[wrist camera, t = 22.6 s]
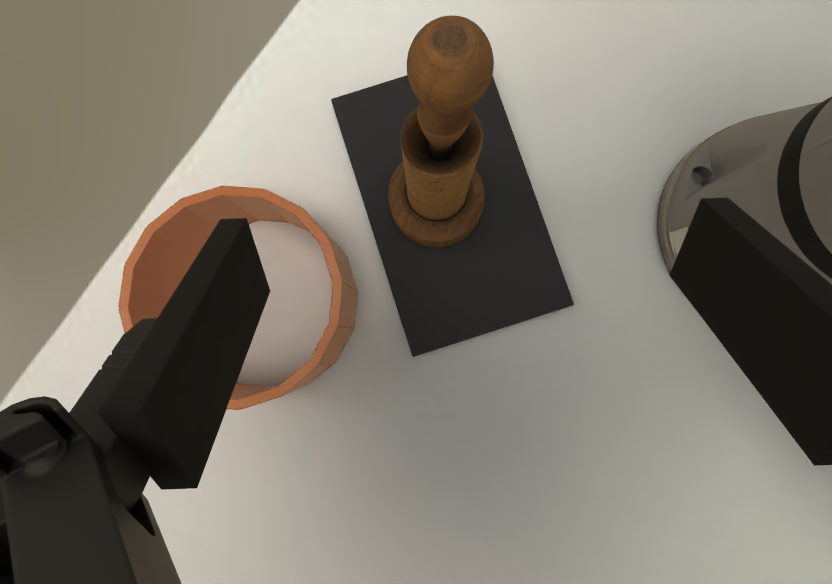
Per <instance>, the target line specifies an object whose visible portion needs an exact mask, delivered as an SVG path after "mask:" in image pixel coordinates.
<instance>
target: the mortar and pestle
mask: <svg viewBox="0 0 832 584" xmlns="http://www.w3.org/2000/svg"><path fill="white" fill-rule="evenodd" d="M493 64H494V61H493V53H492V48H491V45H490V43H489V40H488V38H487V36H486V35H485V33H484V32H483V31H482V29H481V28H480V27H479V26H478V25H477V24H475V23H474V22H472V21H471V20H469V19H467V18H464V17H460V16H444V17H440V18H437V19H435V20H433V21H431V22H429V23H428V24H426V25H425V26H424V27H423V28H422V29H421V30H420V31H419V32H418V34H417V35H416V36H415V38H414V40H413V42H412V44H411V46H410V49H409V53H408V58H407V74H408V79H409V83H410V86H411V88H412V90H413V92H414V94H415V95H416V97H417V98H418V99H419V100H420V102H419V105H418V107H417V108H415V109H414V110H413V111H412V112H411V113H410V115H409V116H408V117H407V119H406V121H405V123H404V125H403V128H402V131H401V138H400V142H401V149H402V155H403V162H402V163H401V164H400V165H399V166H398V167H397V169H396V170H395V172H394V174H393V176H392V178H391V181H390V185H389V192H388V198H389V205H390V210H391V214H392V217H393V219H394V221H395V223H396V225H397V226H398V228H399V229H400V230H401V232H402V233H403V234H404V235H405V236H406V237H407V238H409V239H410V240H412V241H413V242H415V243H417V244H419V245H422V246H425V247H430V248H443V247H448V246H452V245H454V244H456V243H458V242H460V241H462V240H463V239H465V238H466V237H467V236H468V235H469V234H470V233H471V232H472V231H473V229H474V228H475V226H476V225H477V223H478V221H479V218H480V216H481V214H482V211H483V207H484V200H485V193H484V186H483V182H482V179H481V177H480V175H479V173H478V171H477V170H476V168H475V166H476V163H477V160H478V157H479V154H480V151H481V148H482V144H483V130H482V126H481V123H480V121H479V119H478V117H477V116H476V114H475V113H474V112H473V111H472V110H471V107H472V106H474V105H475V104H476V103H477V102H478V101H479V100H480V99H481V98H482V97H483V95H484V94H485V92H486V91H487V89H488V86H489V84H490V81H491V78H492V74H493Z"/></svg>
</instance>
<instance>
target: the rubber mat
mask: <svg viewBox="0 0 832 584" xmlns="http://www.w3.org/2000/svg"><path fill="white" fill-rule="evenodd" d="M331 101H332V104H333V107H334V110H335V113H336V116H337V120H338V123H339V126H340V129H341V132H342V135H343V139H344V142H345V145H346V148H347V151H348V154H349V157H350V161H351V164H352V167H353V170H354V173H355V176H356V179H357V183H358V186H359V189H360V192H361V195H362V198H363V202H364V205H365V208H366V211H367V214H368V217H369V220H370V224H371V227H372V230H373V233H374V236H375V239H376V243H377V246H378V249H379V252H380V255H381V258H382V261H383V265H384V268H385V271H386V274H387V277H388V280H389V283H390V287H391V290H392V293H393V296H394V299H395V302H396V306H397V309H398V312H399V315H400V318H401V321H402V324H403V328H404V331H405V334H406V337H407V340H408V343H409V346H410V350H411V353H412V356H417V355H420V354H423V353H426V352H429V351H432V350H436V349H439V348H442V347H445V346H448V345H451V344H454V343H457V342H460V341H463V340H466V339H470V338H473V337H476V336H479V335H482V334H485V333H488V332H491V331H494V330H497V329H500V328H504V327H507V326H510V325H513V324H516V323H519V322H522V321H525V320H528V319H531V318H534V317H538V316H541V315H544V314H547V313H550V312H553V311H556V310H559V309H562V308H565V307H568V306H572V305H574V303H573V300H572V298H571V295H570V292H569V289H568V286H567V284H566V281H565V278H564V275H563V272H562V270H561V267H560V264H559V261H558V258H557V256H556V253H555V250H554V247H553V244H552V242H551V239H550V236H549V233H548V230H547V228H546V225H545V222H544V219H543V216H542V214H541V211H540V208H539V205H538V202H537V200H536V197H535V194H534V191H533V188H532V186H531V183H530V180H529V177H528V174H527V172H526V169H525V166H524V163H523V160H522V157H521V155H520V152H519V149H518V146H517V143H516V141H515V138H514V135H513V132H512V129H511V127H510V124H509V121H508V118H507V115H506V113H505V110H504V107H503V104H502V101H501V99H500V96H499V93H498V90H497V87H496V85H495V82H494V79H493V76H492V78H491V81H490V84H489V86H488V89H487V91H486V92H485V94H484V95H483V97H482V98H481V99H480V100H479V101H478V102H477V103H476V104H475V105H474V106H472V107H471V110H472V111H473V112H474V113H475V114H476V116H477V117H478V119H479V121H480V123H481V126H482V130H483V144H482V148H481V151H480V154H479V157H478V160H477V163H476V166H475V168H476V170H477V171H478V173H479V175H480V177H481V179H482V182H483V186H484V193H485V200H484V207H483V211H482V214H481V216H480V218H479V221H478V223H477V225H476V226H475V228H474V229H473V231H472V232H471V233H470V234H469V235H468V236H467V237H466V238H465V239H463V240H462V241H460V242H458V243H456V244H454V245H452V246H448V247H443V248H430V247H425V246H422V245H419V244H417V243H415V242H413V241H412V240H410V239H409V238H407V237H406V236H405V235H404V234H403V233H402V232H401V230H400V229H399V228H398V226H397V225H396V223H395V221H394V219H393V217H392V214H391V210H390V205H389V198H388V192H389V185H390V181H391V178H392V176H393V174H394V172H395V170H396V169H397V167H398V166H399V165H400V164H401V163H402V162H403V155H402V149H401V142H400V138H401V131H402V128H403V125H404V123H405V121H406V119H407V117H408V116H409V115H410V113H411V112H412V111H413V110H414V109H415V108H417V107H418V105H419V102H420V100H419V99H418V98H417V97H416V95H415V94H414V92H413V90H412V88H411V86H410V83H409V79H408V75H407V76H404V77H401V78H397V79H394V80H391V81H388V82H385V83H381V84H378V85H375V86H372V87H369V88H365V89H362V90H359V91H356V92H353V93H350V94H346V95H343V96H340V97H337V98H334V99H331Z"/></svg>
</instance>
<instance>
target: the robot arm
mask: <svg viewBox="0 0 832 584" xmlns="http://www.w3.org/2000/svg"><path fill="white" fill-rule="evenodd" d="M658 231H659V239H660V244H661V249H662V252H663V255H664V258H665V261H666V264H667V266H668V268H669V270H670V274H669V275H670V276H671V277H672V279H673V280H674V281H675V283H676V284H677V285H678V287H679V288H680V289H681V291H682V292H683V293H684V295H685V296H686V297H687V299H688V300H689V301H690V302H691V304H692V305H693V306H694V308H695V309H696V310H697V312H698V313H699V314H700V316H701V317H702V318H703V320H704V321H705V322H706V324H707V325H708V326H709V327H710V329H711V330H712V331H713V333H714V334H715V335H716V337H717V338H718V339H719V341H720V342H721V343H722V345H723V346H724V347H725V349H726V350H727V351H728V353H729V354H730V355H731V356H732V358H733V359H734V360H735V362H736V363H737V364H738V366H739V367H740V368H741V370H742V371H743V372H744V374H745V375H746V376H747V378H748V379H749V380H750V381H751V383H752V384H753V385H754V387H755V388H756V389H757V391H758V392H759V393H760V395H761V396H762V397H763V399H764V400H765V401H766V403H767V404H768V405H769V407H770V408H771V409H772V410H773V412H774V413H775V414H776V416H777V417H778V418H779V420H780V421H781V422H782V424H783V425H784V426H785V428H786V429H787V430H788V432H789V433H790V434H791V435H792V437H793V438H794V439H795V441H796V442H797V443H798V445H799V446H800V447H801V449H802V450H803V451H804V453H805V454H806V455H807V457H808V458H809V459H810V460H811V462H812V463H813V464H814V466H815V465H832V97H830V98H828V99H827V100H825V101H823V102H820V103H816V104H811V105H807V106H802V107H798V108H794V109H789V110H785V111H780V112H776V113H772V114H767V115H763V116H758V117H754V118H751V119H747V120H745V121H742V122H739V123H737V124H735V125H732V126H729V127H727V128H725V129H723V130H721V131H719V132H718V133H716V134H714V135H713V136H711V137H710V138H708V139H707V140H705V141H704V142H702V143H701V144H699V145H698V146H697V147H695V148H694V149H693V150H692V151H690V152H689V153H688V154H687V155H686V156H685V157H684V158H683V159H682V161H681V162H680V163H679V164H678V165H677V167H676V168H675V170H674V171H673V173H672V174H671V176H670V178H669V180H668V182H667V184H666V187H665V189H664V192H663V195H662V198H661V203H660V208H659V217H658ZM269 293H270V289H269V286H268V283H267V280H266V277H265V273H264V270H263V267H262V264H261V261H260V258H259V255H258V252H257V249H256V246H255V243H254V239H253V236H252V233H251V230H250V227H249V224H248V221H247V218H235V219H220V220H219V222H218V224H217V225H216V227H215V228H214V230H213V231H212V233H211V235H210V236H209V238H208V239H207V241H206V243H205V244H204V246H203V247H202V249H201V250H200V252H199V254H198V255H197V257H196V258H195V260H194V261H193V263H192V265H191V266H190V268H189V269H188V271H187V272H186V274H185V276H184V277H183V279H182V280H181V282H180V284H179V285H178V287H177V288H176V290H175V291H174V293H173V295H172V296H171V298H170V299H169V301H168V302H167V304H166V306H165V307H164V309H163V310H162V312H161V313H160V315H159V317H158V318H151V319H142V320H141V321H139V322H138V323H137V324H136V325H135V326H133V327H132V328H131V329H130V330H128V331H127V332H126V333H125V334H124V335H123V336H122V338H121V339H120V341H119V342H118V343H117V345H116V346H115V348H114V349H113V351H112V355H109V356H108V358H107V359H106V361H105V362H104V364H103V365H102V370H99V371H98V372H97V374H96V375H95V377H94V378H93V380H92V381H91V382H90V384H89V385H88V387H87V388H86V390H85V391H84V393H83V394H82V395H81V397H80V398H79V400H78V401H77V403H76V404H75V406H74V407H73V408H72V410H71V411H70V413H69V412H68V411H67V410H66V409H65V408H64V407H63V406H62V405H61V404H60V403H59V402H58V400H57V399H53V398H49V397H37V398H29V399H27V400H24V401H21V402H18V403H16V404H13V405H11V406H9V407H8V408H6V409H4V410H2V411H1V412H0V584H181V582H180V579H179V577H178V574H177V572H176V569H175V567H174V564H173V562H172V559H171V557H170V554H169V552H168V549H167V547H166V544H165V542H164V539H163V537H162V534H161V532H160V529H159V527H158V524H157V522H156V519H155V517H154V514H153V512H152V509H151V507H150V504H149V502H148V500H147V499H146V497H145V496H144V495H143V494H142V492H143V490H144V488H145V486H146V484H147V481H148V479H149V477H150V476H151V478H152V479H153V480H154V481H155V482H156V484H157V485H158V486H159V487H160V488H161V489H187V488H197V487H198V484H199V481H200V479H201V476H202V473H203V471H204V468H205V465H206V462H207V460H208V457H209V454H210V452H211V449H212V446H213V444H214V441H215V438H216V436H217V433H218V430H219V428H220V425H221V422H222V419H223V417H224V414H225V411H226V409H227V406H228V403H229V401H230V398H231V395H232V393H233V390H234V387H235V384H236V382H237V379H238V376H239V374H240V371H241V368H242V366H243V363H244V360H245V358H246V355H247V352H248V350H249V347H250V344H251V341H252V339H253V336H254V333H255V331H256V328H257V325H258V323H259V320H260V317H261V315H262V312H263V309H264V306H265V304H266V301H267V298H268V296H269Z"/></svg>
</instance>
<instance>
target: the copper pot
mask: <svg viewBox="0 0 832 584" xmlns="http://www.w3.org/2000/svg"><path fill="white" fill-rule="evenodd" d="M235 218H247V221H248V223H251V222H255V221H258V220H264V221H277V222H290V223H293V224H295V225H297V226H299V227H300V228H302V229H304V230H306V231H308V232H310V233H311V234H312V235H313V236H314V237H315V239H316V240H317V241H318V242H319V243H320V245H321V246H322V250H323V253H324V256H325V259H326V263H327V266H328V269H329V272H330V276H331V279H332V282H333V287H332V297H331V307H330V317H329V324H328V326H327V328H326V330H325V332H324V334H323V336H322V337H321V339H320V341H319V343H318V345H317V347H316V349H315V351H314V353H313V354H312V356H311V358H310V360H309V361H308V362H307V363H305V364H304V365H303V366H302V367H301V368H299V369H298V370H297V371H296V372H295V373H293V374H292V375H291V376H290V377H289V378H288V379H286V380H285V381H284V382H283V383H282V384H280V385H277V386H274V387H267V386H255V385H243V384H238V383H236V384H235V387H234V390H233V393H232V395H231V398H230V401H229V403H228V406H227V409H234V410H239V409H244V408H247V407H250V406H253V405H256V404H259V403H263V402H266V401H269V400H272V399H275V398H278V397H281V396H283V395H286V394H288V393H290V392H292V391H295V390H297V389H299V388H301V387H303V386H306V385H308V384H310V383H311V382H312V381H313V380H314V379H315V378H317V377H318V376H319V375H320V374H321V373H323V372H324V371H325V370H326V369H327V368H328V367H330V366H331V365H332V364H333V363H334V362H336V360H337V359H338V357H339V356H340V354H341V352H342V350H343V348H344V346H345V344H346V342H347V340H348V338H349V336H350V335H351V333H352V331H353V329H354V328H353V327H354V324H355V313H356V303H357V288H356V285H355V281H354V278H353V275H352V272H351V269H350V265H349V262H348V259H347V257H346V256H345V254H344V253H343V252H342V251H341V250H340V248H339V247H338V246H337V245H336V244H335V243H334V241H333V240H332V239H331V238H330V237H329V235H328V234H327V233H326V232H325V231H324V230H323V229H322V228H321V227H320V226H319V225H318V223H317V222H316V221H315V220H314V219H313V218H312V217H311V216H310V215H309V214H308V213H307V212H306V211H305V210H304V209H303V208H302V207H300V206H298V205H296V204H294V203H292V202H290V201H288V200H286V199H284V198H282V197H280V196H278V195H276V194H274V193H272V192H270V191H268V190H265V189H259V188H246V187H233V186H220V187H216V188H213V189H210V190H207V191H204V192H201V193H197V194H194V195H191V196H188V197H185V198H182V199H180V200H179V201H177V202H176V203H175V204H174V205H173V206H171V207H170V208H169V209H168V210H166V211H165V212H164V213H163V214H161V215H160V216H159V217H158V218H156V219H155V220H154V221H153V222H151V223H150V224H149V225H148V226H147V227H146V228H145V230H144V232H143V233H142V235H141V237H140V239H139V240H138V242H137V244H136V245H135V247H134V249H133V251H132V252H131V254H130V256H129V258H128V259H127V261H126V263H125V265H124V271H123V278H122V285H121V292H120V299H119V306H118V307H119V313H120V317H121V320H122V324H123V328H124V332H125V333H126V332H127V331H128V330H130V329H131V328H132V327H133V326H135V325H136V324H137V323H138V322H139V321H141V320H142V319H151V318H158V317H159V315H160V313H161V312H162V310H163V309H164V307H165V306H166V304H167V302H168V301H169V299H170V298H171V296H172V295H173V293H174V291H175V290H176V288H177V287H178V285H179V284H180V282H181V280H182V279H183V277H184V276H185V274H186V272H187V271H188V269H189V268H190V266H191V265H192V263H193V261H194V260H195V258H196V257H197V255H198V254H199V252H200V250H201V249H202V247H203V246H204V244H205V243H206V241H207V239H208V238H209V236H210V235H211V233H212V231H213V230H214V228H215V227H216V225H217V224H218V222H219V220H220V219H235Z"/></svg>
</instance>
